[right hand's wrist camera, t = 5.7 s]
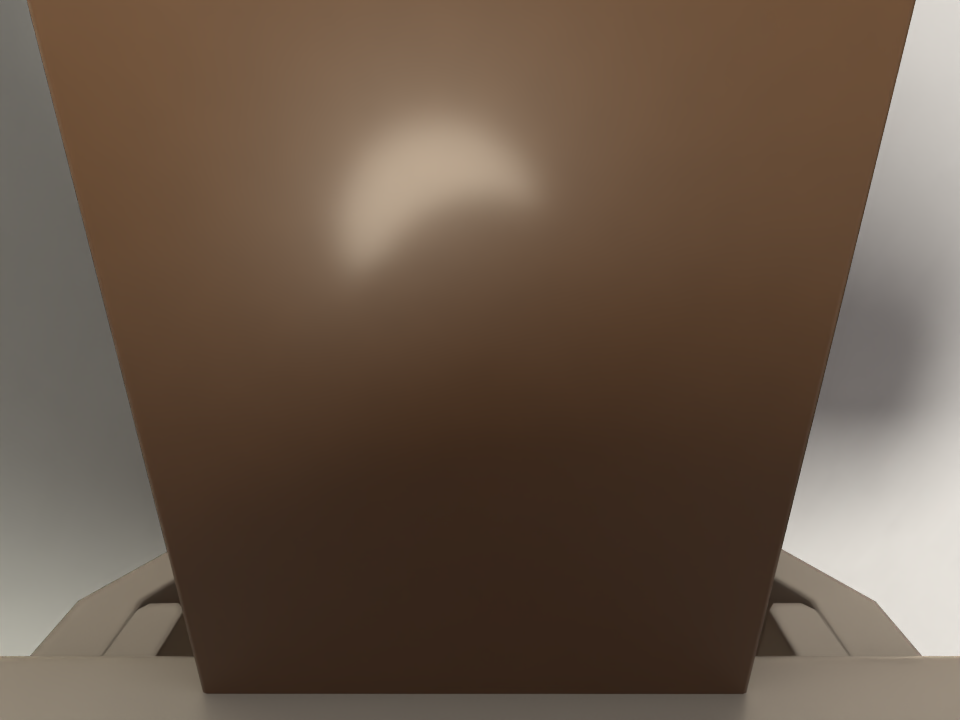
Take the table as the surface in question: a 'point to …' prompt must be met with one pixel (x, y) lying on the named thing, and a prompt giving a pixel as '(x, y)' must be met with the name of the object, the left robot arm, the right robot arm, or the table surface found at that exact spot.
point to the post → (472, 318)
